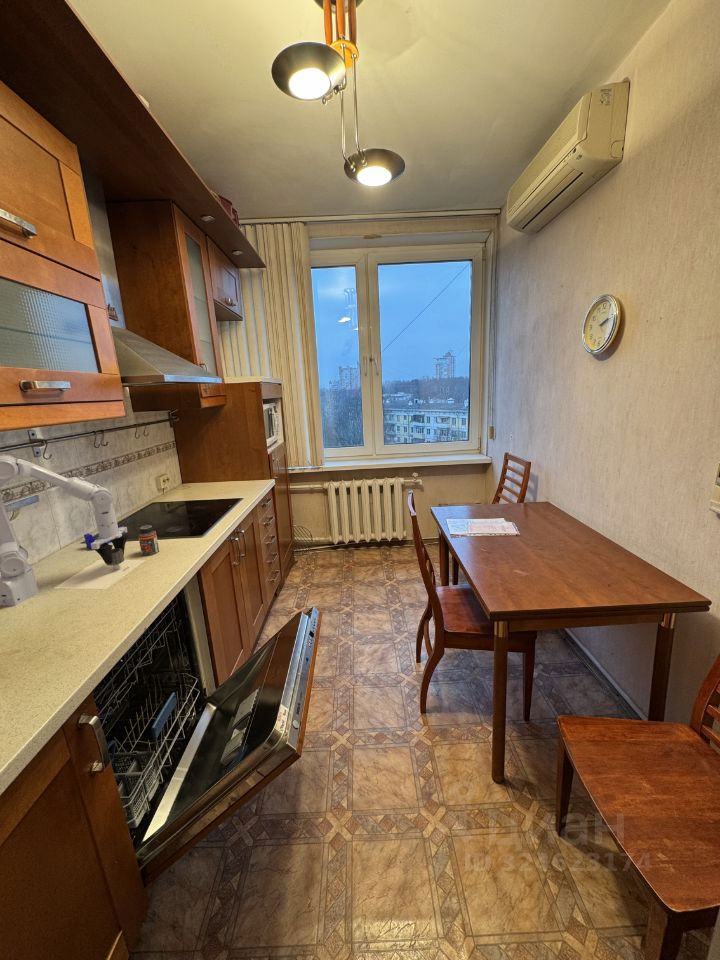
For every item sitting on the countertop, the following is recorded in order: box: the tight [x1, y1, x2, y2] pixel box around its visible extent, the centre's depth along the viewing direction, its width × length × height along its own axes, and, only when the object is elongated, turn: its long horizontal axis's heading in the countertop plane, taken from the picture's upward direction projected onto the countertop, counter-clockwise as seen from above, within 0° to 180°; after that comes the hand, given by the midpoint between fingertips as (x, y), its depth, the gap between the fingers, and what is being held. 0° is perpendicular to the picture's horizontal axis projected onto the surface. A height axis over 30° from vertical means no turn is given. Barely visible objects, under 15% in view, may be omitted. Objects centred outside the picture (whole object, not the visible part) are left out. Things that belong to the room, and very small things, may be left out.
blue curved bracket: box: [83, 525, 120, 551], centre depth 155 cm, size 12×4×6 cm, turn 151°
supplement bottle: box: [138, 525, 160, 557], centre depth 143 cm, size 6×6×11 cm
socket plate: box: [53, 559, 146, 590], centre depth 129 cm, size 20×18×5 cm
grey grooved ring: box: [106, 548, 125, 566], centre depth 131 cm, size 5×5×4 cm
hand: (114, 559), depth 131 cm, fingers closed on grey grooved ring, 5 cm apart
